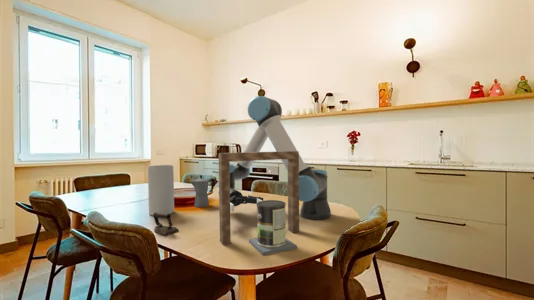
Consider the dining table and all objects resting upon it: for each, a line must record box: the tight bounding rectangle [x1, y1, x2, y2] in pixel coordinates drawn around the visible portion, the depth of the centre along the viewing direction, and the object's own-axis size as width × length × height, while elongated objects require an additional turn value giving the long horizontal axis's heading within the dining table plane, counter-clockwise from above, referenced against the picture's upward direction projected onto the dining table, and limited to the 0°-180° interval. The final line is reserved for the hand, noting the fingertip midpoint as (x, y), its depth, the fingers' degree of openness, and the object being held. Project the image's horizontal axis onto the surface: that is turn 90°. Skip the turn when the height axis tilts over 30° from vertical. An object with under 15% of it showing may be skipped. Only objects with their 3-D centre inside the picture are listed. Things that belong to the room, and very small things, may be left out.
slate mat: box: [248, 237, 298, 256], centre depth 96 cm, size 13×13×1 cm
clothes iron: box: [152, 213, 180, 237], centre depth 112 cm, size 7×11×10 cm, turn 60°
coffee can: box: [256, 199, 287, 248], centre depth 96 cm, size 10×10×14 cm
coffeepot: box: [189, 174, 216, 208], centre depth 159 cm, size 15×9×18 cm, turn 126°
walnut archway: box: [218, 150, 300, 246], centre depth 105 cm, size 32×4×33 cm, turn 114°
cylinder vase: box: [147, 164, 175, 216], centre depth 142 cm, size 12×12×25 cm
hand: (248, 206), depth 112 cm, fingers open, 13 cm apart
